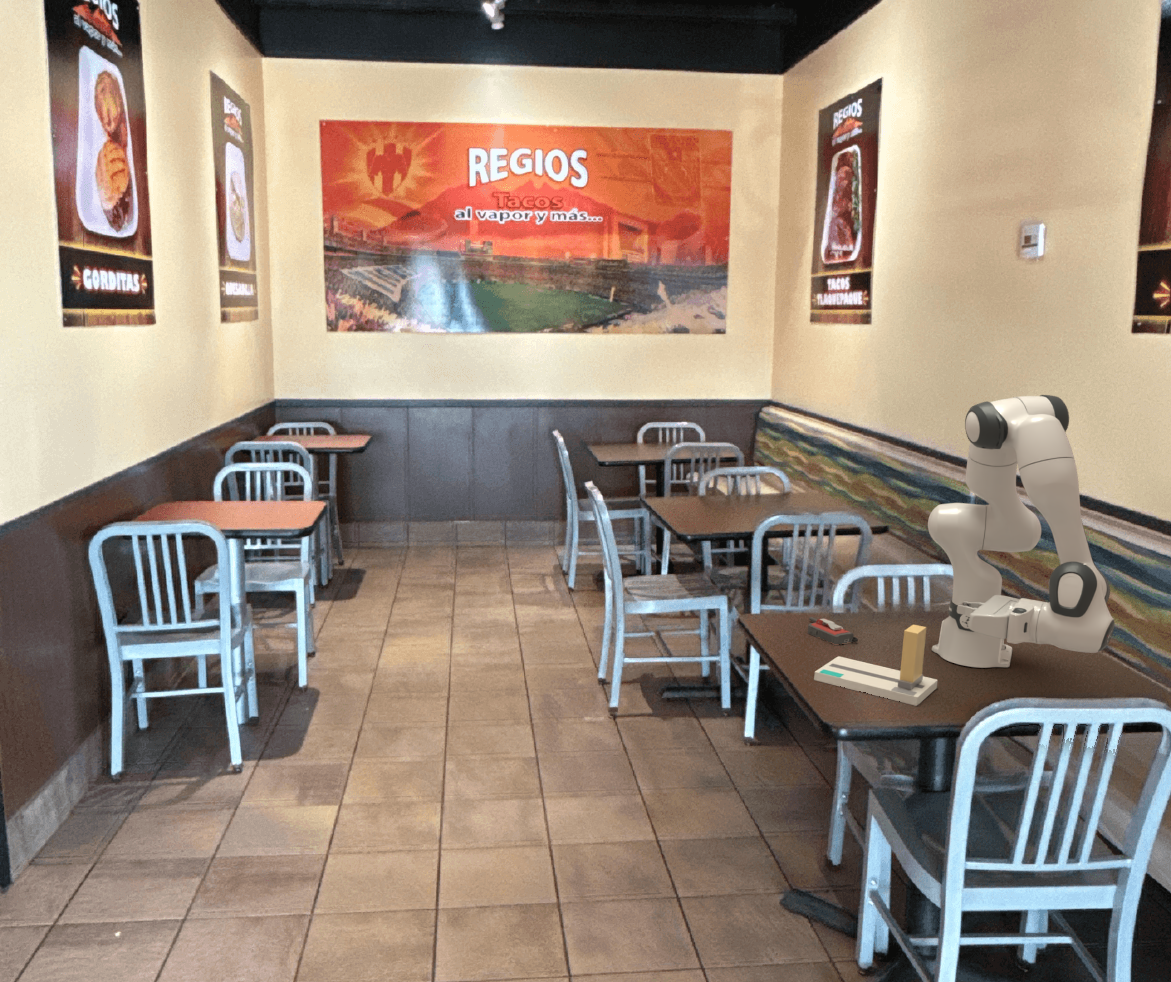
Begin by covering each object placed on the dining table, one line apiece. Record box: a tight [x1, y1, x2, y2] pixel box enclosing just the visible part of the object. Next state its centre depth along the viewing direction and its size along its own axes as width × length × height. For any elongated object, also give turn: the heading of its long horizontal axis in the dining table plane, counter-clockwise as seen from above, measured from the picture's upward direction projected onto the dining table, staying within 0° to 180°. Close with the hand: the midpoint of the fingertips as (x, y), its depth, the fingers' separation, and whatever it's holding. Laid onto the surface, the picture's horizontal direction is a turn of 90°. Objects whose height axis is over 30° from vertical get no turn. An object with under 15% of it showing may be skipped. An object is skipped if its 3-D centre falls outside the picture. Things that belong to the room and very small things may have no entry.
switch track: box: [813, 655, 938, 707], centre depth 240 cm, size 14×24×2 cm, turn 54°
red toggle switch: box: [807, 616, 859, 644], centre depth 276 cm, size 9×4×20 cm
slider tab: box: [898, 624, 927, 690], centre depth 234 cm, size 8×3×13 cm, turn 144°
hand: (959, 607), depth 227 cm, fingers closed
